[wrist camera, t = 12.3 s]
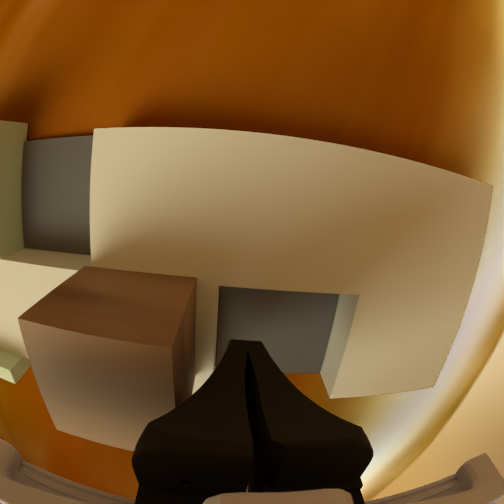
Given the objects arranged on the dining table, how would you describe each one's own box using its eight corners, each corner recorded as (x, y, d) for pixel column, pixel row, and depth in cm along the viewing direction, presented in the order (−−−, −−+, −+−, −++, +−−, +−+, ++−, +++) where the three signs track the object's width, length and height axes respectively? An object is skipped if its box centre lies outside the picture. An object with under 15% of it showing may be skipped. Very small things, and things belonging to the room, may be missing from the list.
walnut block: (195, 375, 13) (181, 459, 8) (98, 360, 13) (56, 429, 8) (196, 277, 12) (171, 347, 7) (85, 265, 12) (17, 317, 7)
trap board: (411, 376, 17) (442, 420, 13) (-16, 329, 15) (-51, 359, 11) (465, 164, 13) (524, 170, 9) (-35, 137, 11) (-83, 139, 7)
